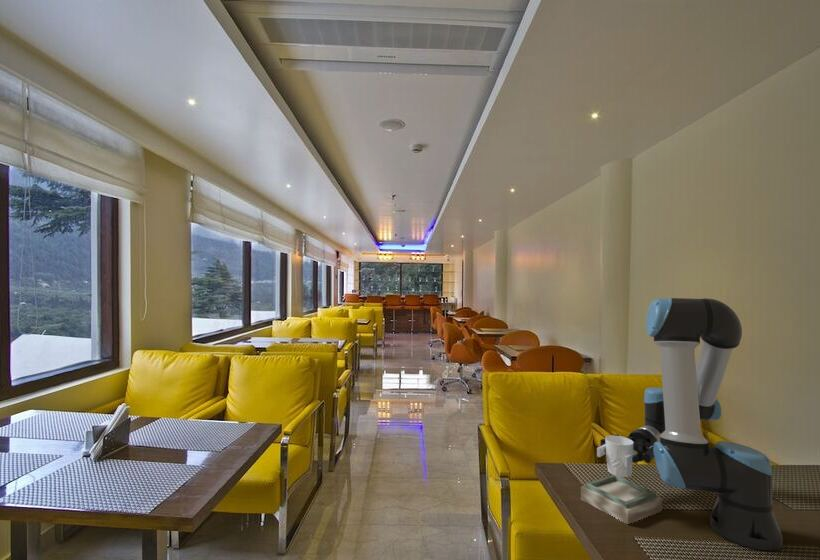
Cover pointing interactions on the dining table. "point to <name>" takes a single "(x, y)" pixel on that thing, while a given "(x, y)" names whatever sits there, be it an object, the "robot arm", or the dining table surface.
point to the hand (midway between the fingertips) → (611, 457)
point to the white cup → (618, 455)
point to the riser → (621, 498)
